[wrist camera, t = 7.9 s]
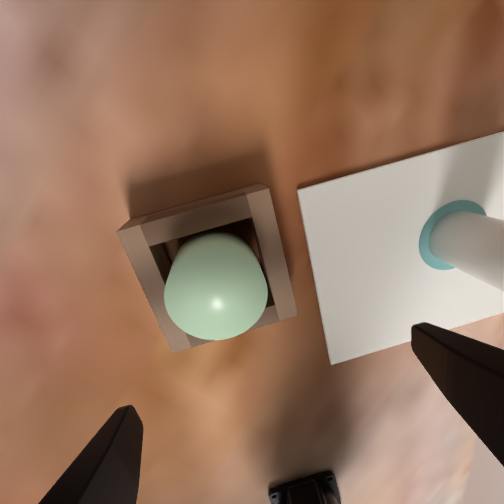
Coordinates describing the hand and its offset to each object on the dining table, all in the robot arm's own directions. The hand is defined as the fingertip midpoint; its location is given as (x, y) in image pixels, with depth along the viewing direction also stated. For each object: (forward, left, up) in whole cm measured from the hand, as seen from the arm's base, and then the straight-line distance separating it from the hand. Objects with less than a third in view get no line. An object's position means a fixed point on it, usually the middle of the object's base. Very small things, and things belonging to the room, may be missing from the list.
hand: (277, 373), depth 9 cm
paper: (-4, -12, -10) cm, 16 cm away
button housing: (0, +2, -10) cm, 10 cm away
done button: (0, +2, -8) cm, 9 cm away
